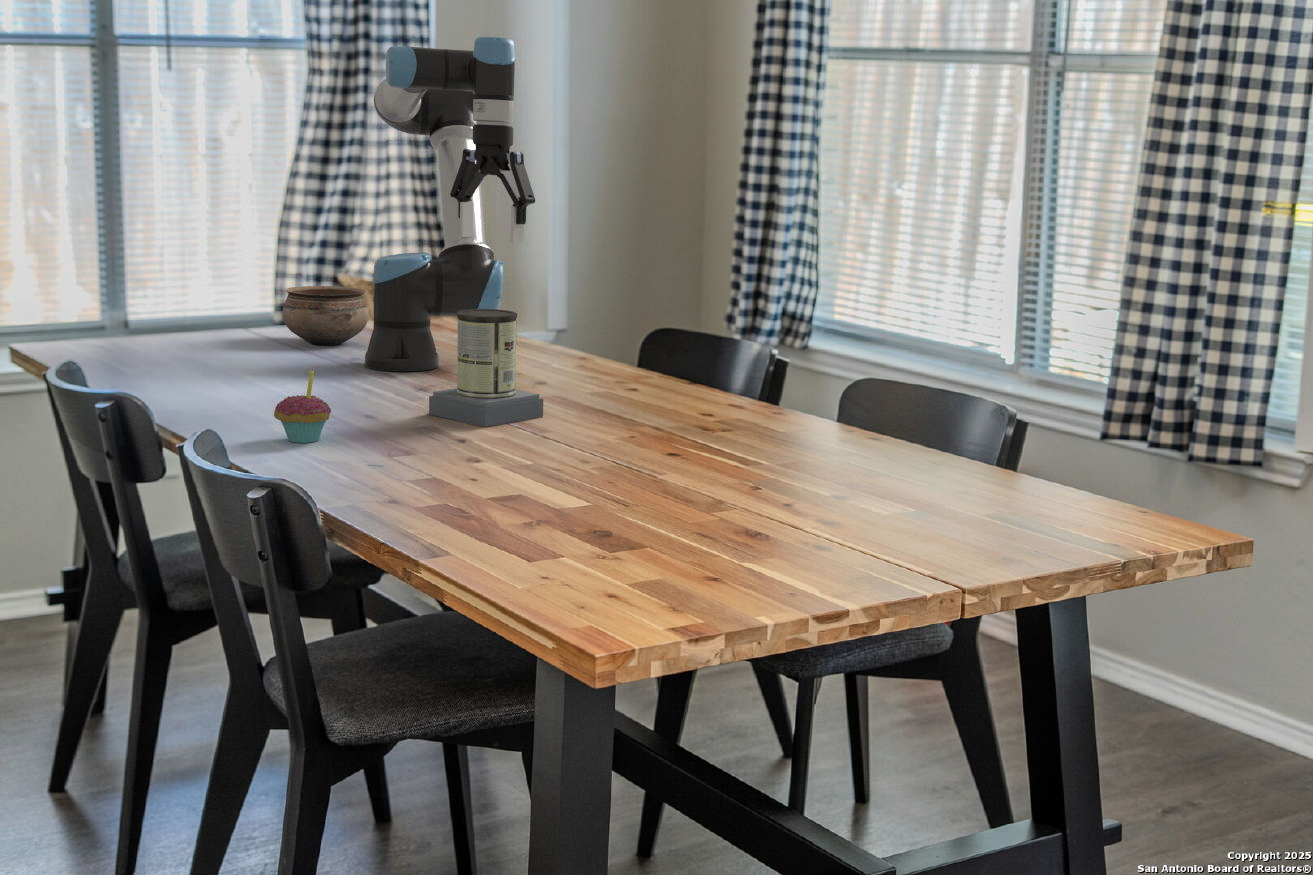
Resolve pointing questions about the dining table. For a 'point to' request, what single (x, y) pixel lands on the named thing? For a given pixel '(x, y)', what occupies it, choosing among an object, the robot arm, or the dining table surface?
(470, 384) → the coffee can
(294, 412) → the cupcake
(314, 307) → the cooking pot
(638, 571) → the dining table surface
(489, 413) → the pedestal
